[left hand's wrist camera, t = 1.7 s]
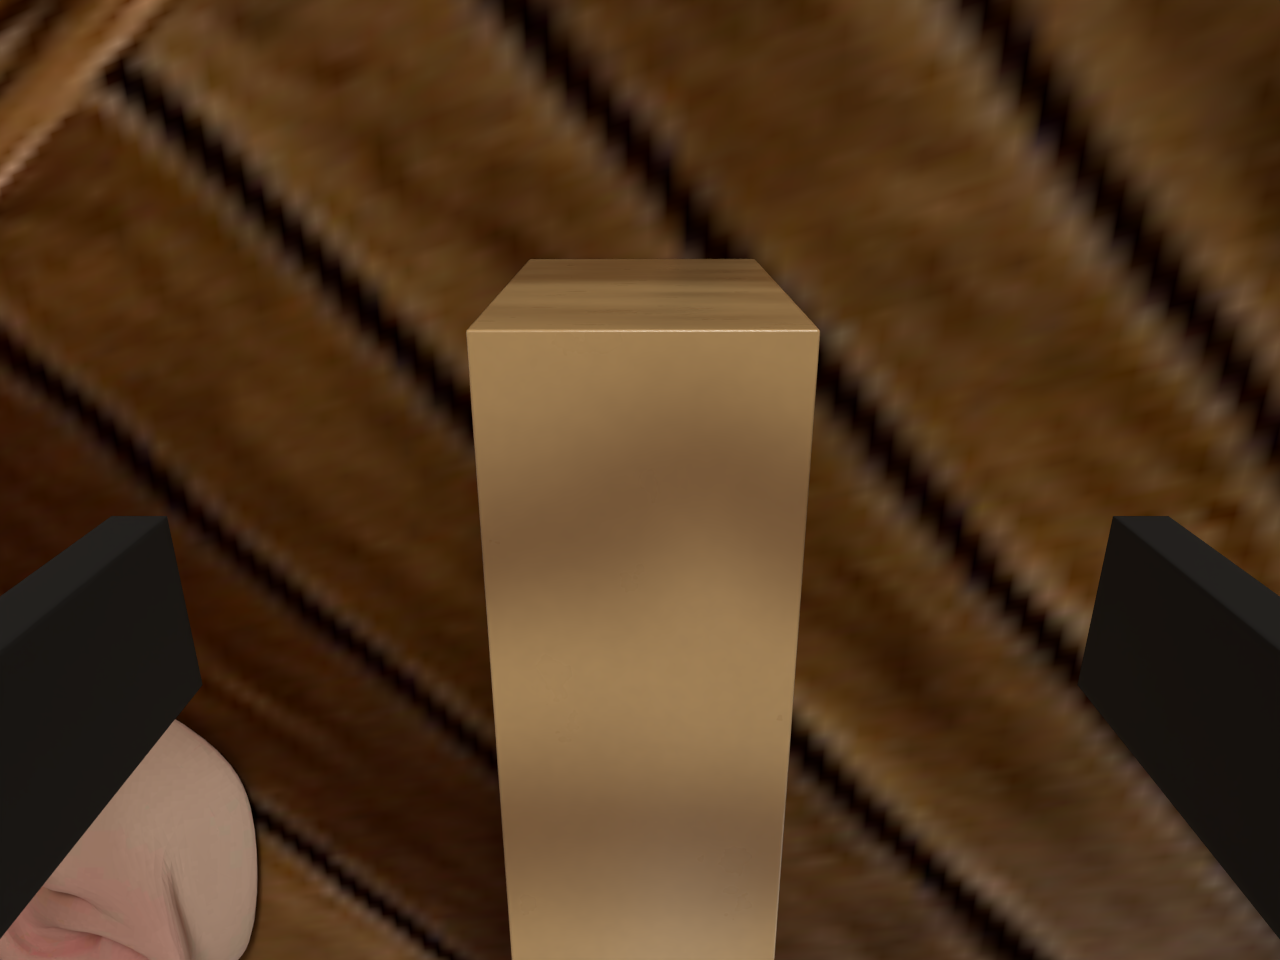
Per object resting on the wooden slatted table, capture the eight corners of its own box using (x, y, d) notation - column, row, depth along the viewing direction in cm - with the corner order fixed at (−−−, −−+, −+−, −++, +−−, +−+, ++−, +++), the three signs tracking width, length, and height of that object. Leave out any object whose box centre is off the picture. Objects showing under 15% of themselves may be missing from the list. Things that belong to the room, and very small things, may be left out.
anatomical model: (-158, 708, 25) (249, 808, 26) (-55, 635, 29) (298, 725, 30) (-157, 1026, 30) (190, 1097, 31) (-68, 926, 33) (238, 994, 35)
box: (529, 259, 25) (465, 330, 16) (755, 258, 25) (820, 329, 16) (556, 857, 32) (524, 1133, 23) (728, 857, 32) (761, 1133, 23)
